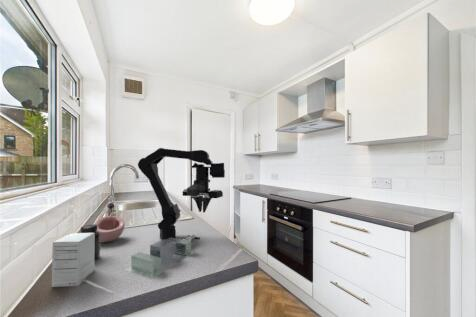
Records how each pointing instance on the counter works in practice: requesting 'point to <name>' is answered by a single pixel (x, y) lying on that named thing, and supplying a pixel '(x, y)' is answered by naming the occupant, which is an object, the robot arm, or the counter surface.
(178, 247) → the sliding jaw
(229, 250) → the counter surface
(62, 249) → the supplement box
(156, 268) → the vise
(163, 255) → the steel block
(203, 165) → the robot arm
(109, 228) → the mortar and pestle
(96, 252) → the supplement bottle
